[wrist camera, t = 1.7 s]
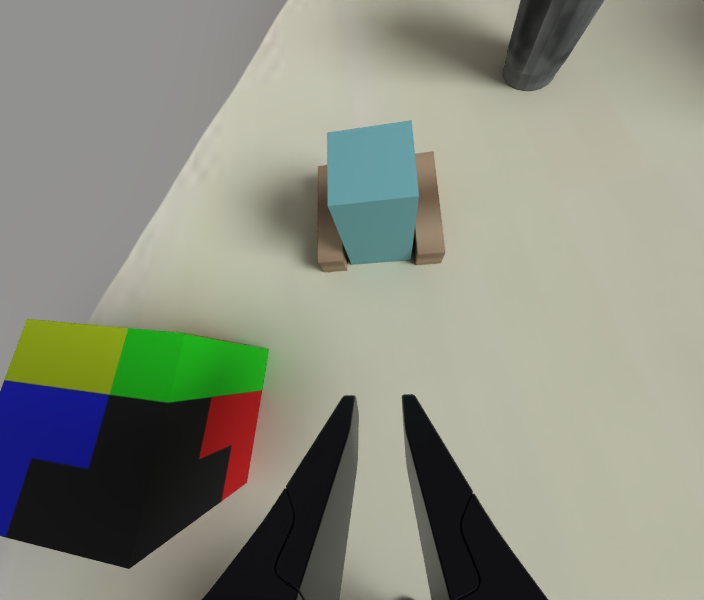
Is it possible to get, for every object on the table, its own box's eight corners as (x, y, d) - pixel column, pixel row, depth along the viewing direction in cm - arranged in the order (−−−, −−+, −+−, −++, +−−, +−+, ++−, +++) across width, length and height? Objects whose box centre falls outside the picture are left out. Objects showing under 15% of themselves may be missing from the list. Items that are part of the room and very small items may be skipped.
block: (410, 259, 24) (419, 196, 15) (351, 264, 25) (327, 206, 16) (406, 206, 25) (411, 120, 17) (350, 212, 26) (327, 132, 17)
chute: (440, 263, 24) (445, 252, 21) (324, 272, 25) (317, 262, 23) (430, 169, 26) (433, 151, 24) (324, 182, 27) (318, 166, 25)
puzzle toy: (134, 461, 23) (-49, 523, 14) (164, 339, 26) (27, 319, 16) (247, 482, 22) (129, 569, 12) (269, 349, 24) (184, 333, 14)
